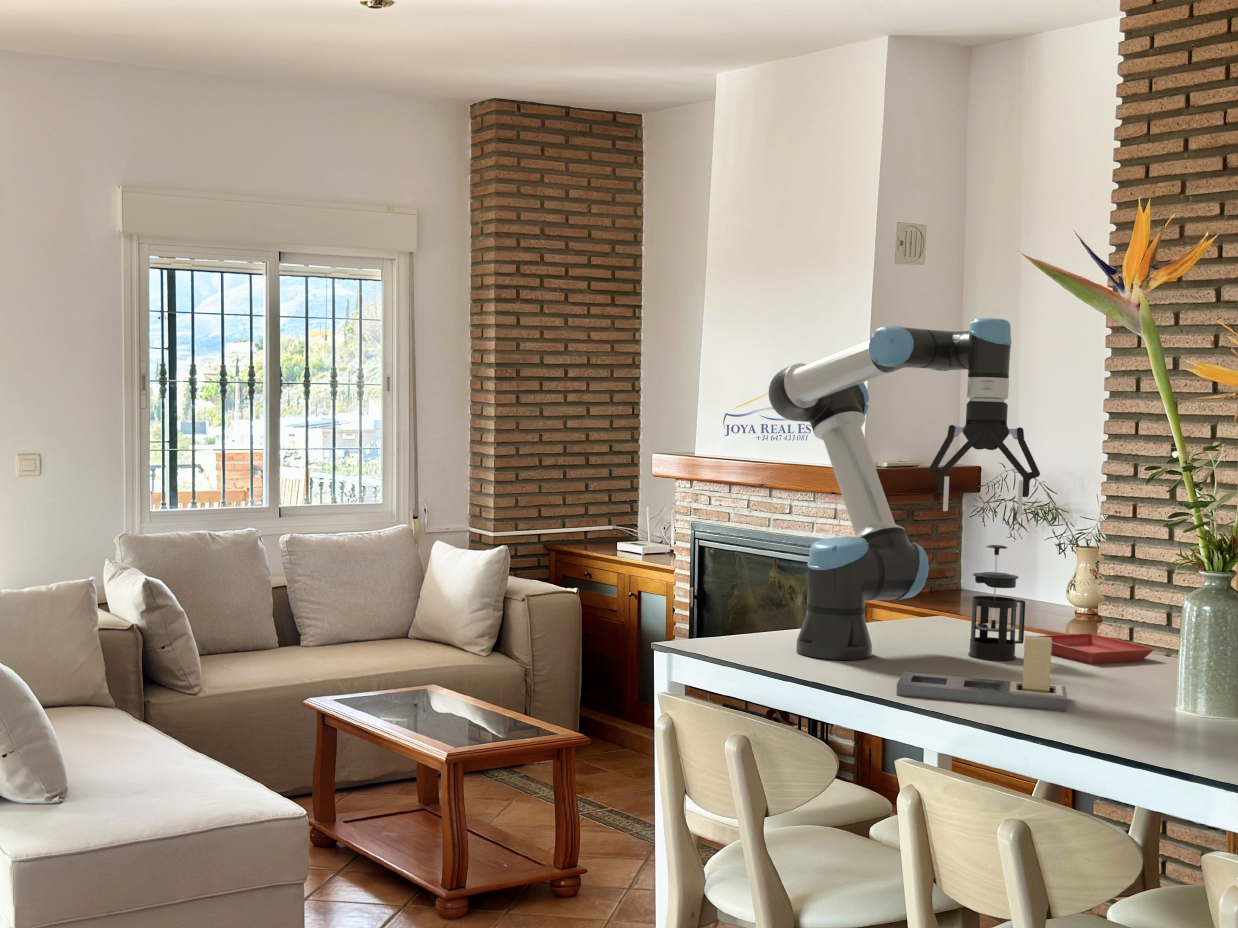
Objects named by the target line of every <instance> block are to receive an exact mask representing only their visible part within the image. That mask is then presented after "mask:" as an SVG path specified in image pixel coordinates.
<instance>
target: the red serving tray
mask: <svg viewBox="0 0 1238 928" xmlns="http://www.w3.org/2000/svg"><path fill="white" fill-rule="evenodd" d="M1039 636H1040V637H1051V638H1052V648H1051V656H1052V655H1053V656H1057V657H1061V658H1065V659H1069V660H1073V661H1077V662H1081V663H1086V664H1091V665H1092V664H1093V665H1095V664H1108V663H1110V664H1111V663H1122V662H1124V663H1125V662H1138V661H1139V662H1141V661H1143V660H1144V659H1145V658H1146V657H1148V656H1149V655H1150V654H1151V653H1153V651H1154V649H1155V648H1153V647H1149V646H1146V645H1141V644H1137V643H1133V642H1129V641H1125V640H1121V639H1116V638H1112V637H1107V636H1103V635H1099V634H1093V633H1074V634H1073V633H1070V634H1052V635H1050V634H1049V635H1048V634H1047V635H1039Z"/></svg>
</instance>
